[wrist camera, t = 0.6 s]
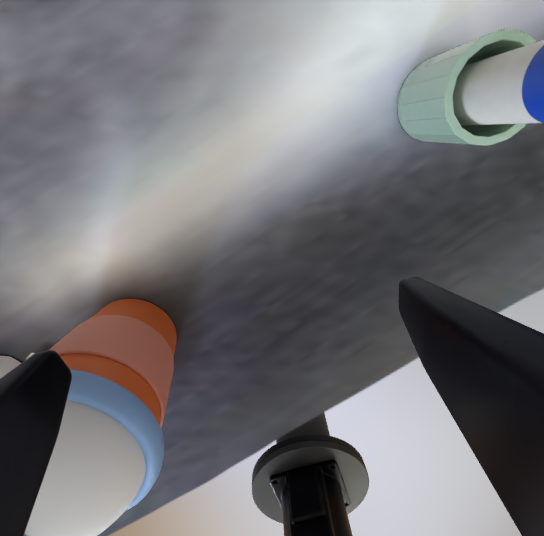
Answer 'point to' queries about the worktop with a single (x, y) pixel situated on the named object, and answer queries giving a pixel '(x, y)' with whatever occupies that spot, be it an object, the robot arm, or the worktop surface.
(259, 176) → the worktop surface
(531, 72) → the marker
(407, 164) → the worktop surface
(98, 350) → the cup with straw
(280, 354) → the worktop surface
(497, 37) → the glass
